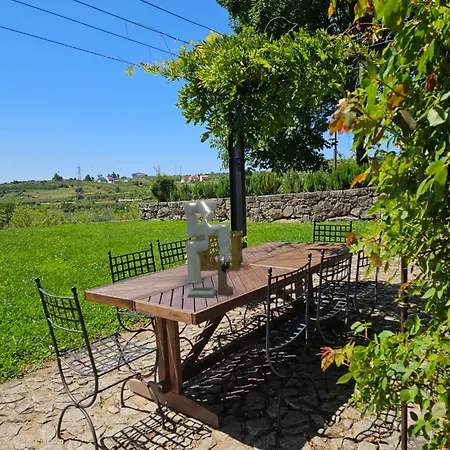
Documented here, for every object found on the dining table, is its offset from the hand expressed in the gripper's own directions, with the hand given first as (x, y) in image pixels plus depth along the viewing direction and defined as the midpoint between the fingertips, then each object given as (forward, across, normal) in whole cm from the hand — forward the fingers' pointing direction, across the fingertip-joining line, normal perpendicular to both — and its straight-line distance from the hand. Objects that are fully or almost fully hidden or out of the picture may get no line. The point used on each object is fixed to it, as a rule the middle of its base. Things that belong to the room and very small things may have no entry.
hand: (225, 270), depth 253 cm
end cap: (+16, 0, -16) cm, 22 cm away
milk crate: (+15, -93, -19) cm, 96 cm away
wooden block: (+16, -1, 0) cm, 16 cm away
